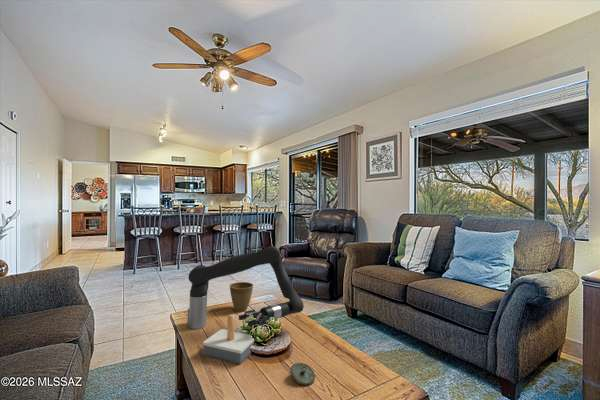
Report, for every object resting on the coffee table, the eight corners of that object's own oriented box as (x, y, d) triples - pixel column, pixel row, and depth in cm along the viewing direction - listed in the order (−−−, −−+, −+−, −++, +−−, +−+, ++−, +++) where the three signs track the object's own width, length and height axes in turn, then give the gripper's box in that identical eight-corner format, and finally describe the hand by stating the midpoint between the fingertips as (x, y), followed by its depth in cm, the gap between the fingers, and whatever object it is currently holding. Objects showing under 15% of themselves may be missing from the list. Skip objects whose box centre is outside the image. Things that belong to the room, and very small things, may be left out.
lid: (301, 368, 124) (301, 356, 124) (320, 377, 118) (320, 365, 118) (284, 379, 116) (285, 367, 116) (304, 390, 110) (304, 377, 110)
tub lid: (202, 348, 131) (203, 318, 131) (221, 334, 145) (222, 307, 145) (240, 357, 124) (242, 325, 124) (256, 341, 139) (257, 313, 139)
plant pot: (254, 306, 193) (255, 282, 193) (248, 315, 179) (249, 289, 179) (233, 304, 195) (234, 281, 195) (225, 313, 180) (226, 287, 180)
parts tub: (203, 355, 131) (203, 344, 131) (221, 341, 144) (221, 331, 144) (240, 364, 125) (240, 353, 125) (255, 349, 138) (255, 338, 138)
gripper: (263, 302, 155) (236, 308, 144) (279, 310, 145) (251, 318, 134) (262, 316, 155) (235, 323, 144) (278, 325, 145) (251, 334, 134)
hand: (243, 321), depth 139 cm, fingers open, 8 cm apart
